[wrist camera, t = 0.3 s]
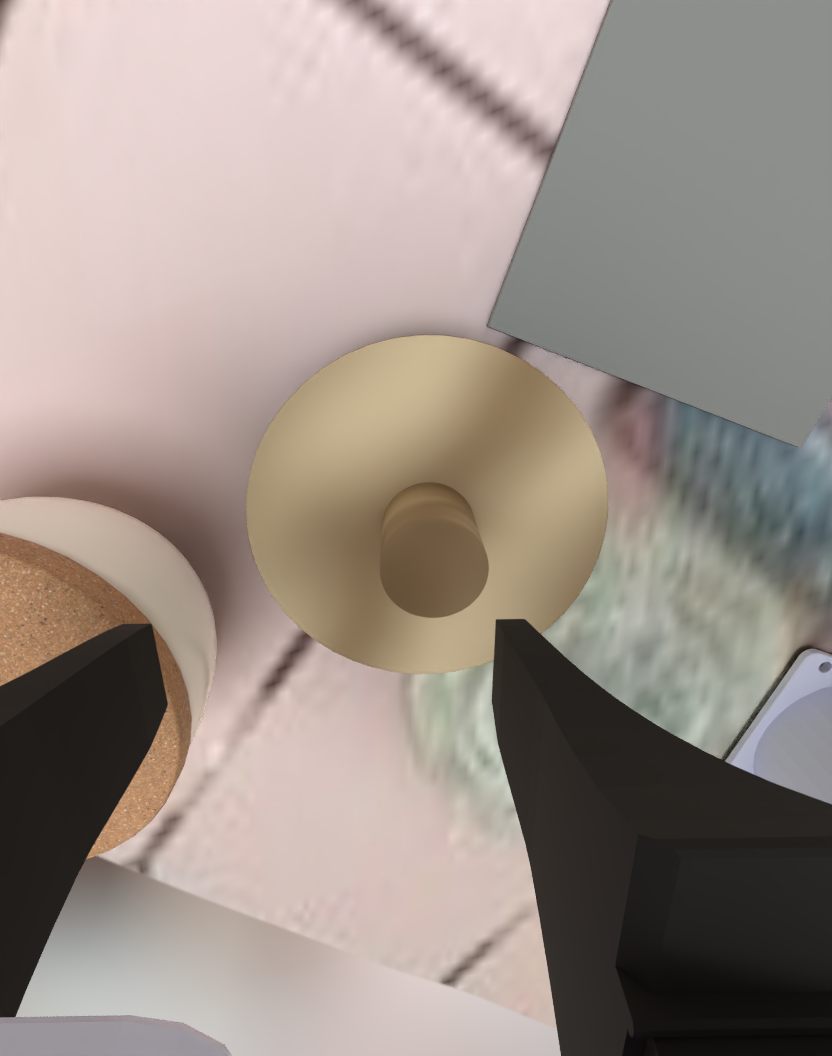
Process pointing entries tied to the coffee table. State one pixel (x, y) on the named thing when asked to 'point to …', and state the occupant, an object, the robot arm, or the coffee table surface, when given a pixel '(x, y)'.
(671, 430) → the coffee table surface
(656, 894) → the robot arm
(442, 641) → the lid
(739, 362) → the mat
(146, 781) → the lidded jar
